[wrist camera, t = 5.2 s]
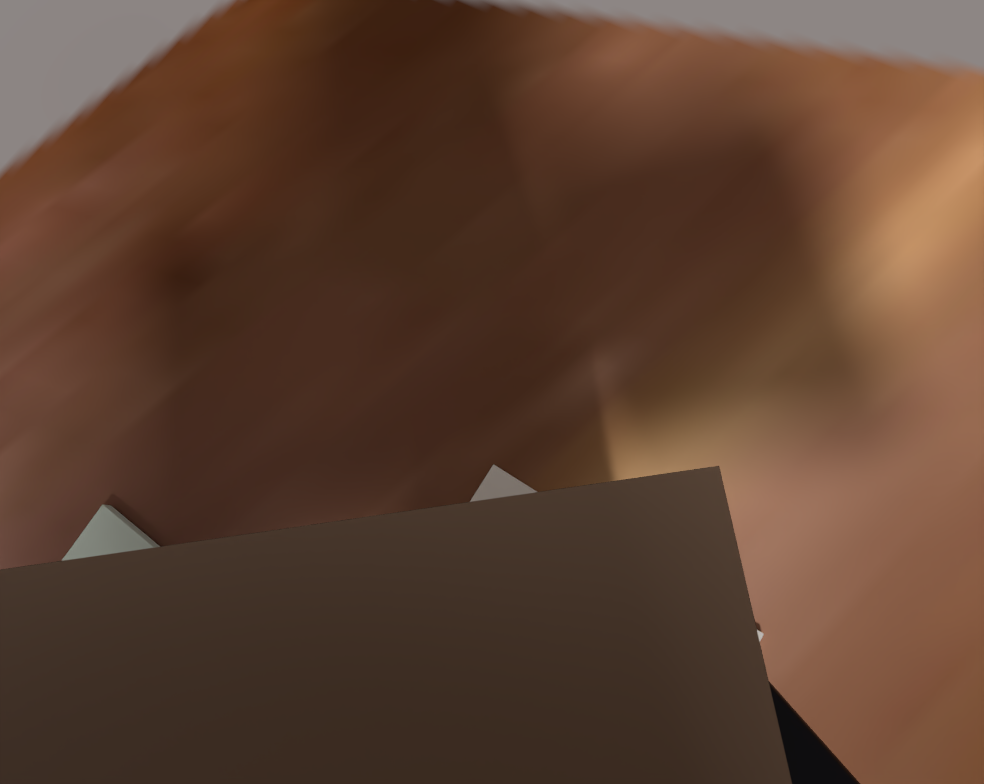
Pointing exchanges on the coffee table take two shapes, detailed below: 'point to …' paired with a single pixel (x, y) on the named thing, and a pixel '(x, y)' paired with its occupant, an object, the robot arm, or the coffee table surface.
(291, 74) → the coffee table surface
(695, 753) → the walnut block
